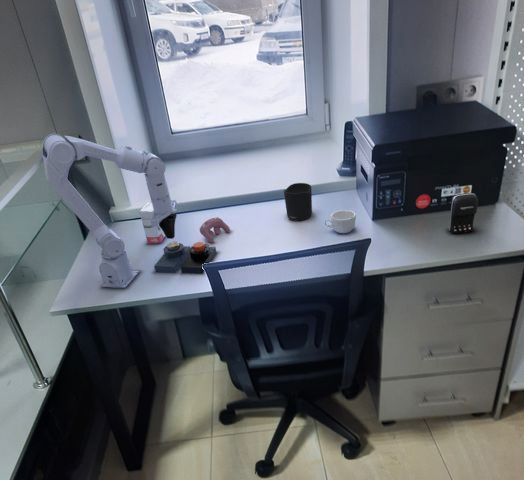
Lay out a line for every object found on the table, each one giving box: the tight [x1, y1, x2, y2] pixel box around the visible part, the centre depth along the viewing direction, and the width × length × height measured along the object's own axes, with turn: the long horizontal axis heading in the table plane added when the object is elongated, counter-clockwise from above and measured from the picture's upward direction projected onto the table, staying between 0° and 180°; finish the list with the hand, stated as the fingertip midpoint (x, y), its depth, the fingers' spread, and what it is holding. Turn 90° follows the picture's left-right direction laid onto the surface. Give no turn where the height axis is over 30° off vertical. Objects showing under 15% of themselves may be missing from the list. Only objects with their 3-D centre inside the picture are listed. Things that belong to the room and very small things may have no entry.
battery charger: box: [448, 192, 479, 234], centre depth 149 cm, size 7×4×11 cm, turn 90°
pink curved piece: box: [199, 216, 231, 243], centre depth 170 cm, size 10×5×7 cm, turn 141°
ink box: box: [139, 201, 166, 245], centre depth 172 cm, size 9×5×12 cm, turn 168°
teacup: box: [324, 209, 357, 234], centre depth 161 cm, size 10×8×5 cm
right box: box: [179, 243, 218, 275], centre depth 157 cm, size 13×7×4 cm, turn 164°
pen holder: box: [283, 182, 313, 222], centre depth 172 cm, size 9×9×10 cm
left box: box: [153, 242, 191, 274], centre depth 159 cm, size 13×7×4 cm, turn 164°
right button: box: [192, 241, 205, 252], centre depth 157 cm, size 4×4×2 cm
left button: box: [166, 241, 179, 251], centre depth 159 cm, size 4×4×2 cm
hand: (170, 237), depth 157 cm, fingers closed
